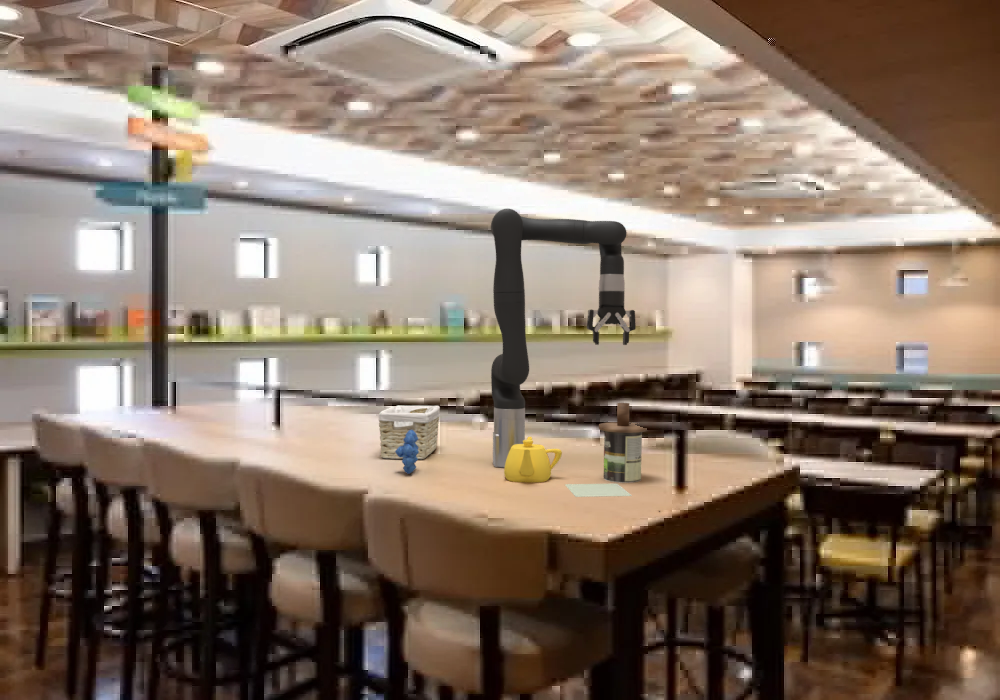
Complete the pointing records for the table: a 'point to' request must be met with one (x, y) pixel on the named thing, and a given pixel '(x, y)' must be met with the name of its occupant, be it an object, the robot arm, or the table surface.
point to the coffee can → (622, 457)
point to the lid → (622, 422)
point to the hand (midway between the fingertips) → (610, 344)
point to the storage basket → (401, 421)
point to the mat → (597, 490)
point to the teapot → (529, 462)
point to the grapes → (409, 451)
